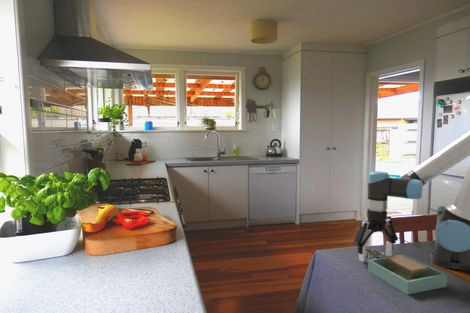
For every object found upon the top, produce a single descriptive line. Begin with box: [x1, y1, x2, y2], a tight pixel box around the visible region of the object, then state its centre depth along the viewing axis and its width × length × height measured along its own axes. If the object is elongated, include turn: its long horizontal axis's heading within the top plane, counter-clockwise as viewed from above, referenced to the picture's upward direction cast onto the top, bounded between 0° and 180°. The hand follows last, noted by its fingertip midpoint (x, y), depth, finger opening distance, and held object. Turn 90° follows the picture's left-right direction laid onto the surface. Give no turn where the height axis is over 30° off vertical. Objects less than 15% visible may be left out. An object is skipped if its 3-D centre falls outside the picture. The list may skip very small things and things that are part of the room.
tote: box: [367, 254, 448, 296], centre depth 114 cm, size 17×19×5 cm
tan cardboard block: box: [385, 254, 428, 281], centre depth 114 cm, size 7×12×6 cm, turn 17°
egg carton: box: [365, 248, 390, 260], centre depth 132 cm, size 11×8×4 cm
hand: (375, 259), depth 132 cm, fingers open, 13 cm apart
